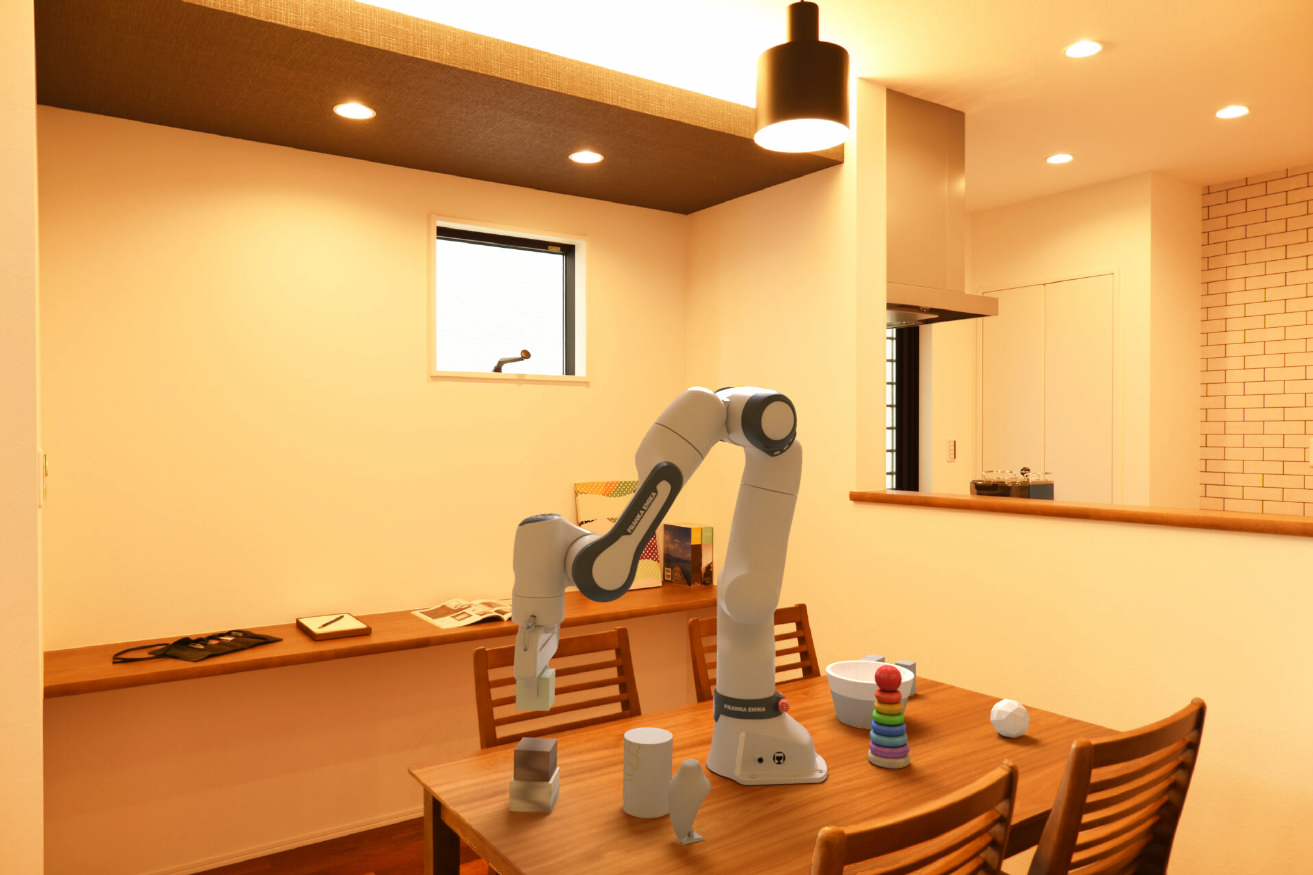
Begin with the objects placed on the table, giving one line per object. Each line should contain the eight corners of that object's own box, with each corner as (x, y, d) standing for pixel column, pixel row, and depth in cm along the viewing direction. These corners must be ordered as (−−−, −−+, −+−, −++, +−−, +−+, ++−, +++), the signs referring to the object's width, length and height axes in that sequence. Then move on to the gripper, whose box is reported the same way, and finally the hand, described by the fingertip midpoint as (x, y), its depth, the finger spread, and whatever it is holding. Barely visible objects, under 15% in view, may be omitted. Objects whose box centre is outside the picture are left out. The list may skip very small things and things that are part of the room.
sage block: (554, 700, 147) (555, 668, 147) (548, 710, 142) (549, 677, 142) (522, 699, 148) (523, 667, 148) (515, 709, 142) (516, 676, 142)
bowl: (845, 700, 205) (846, 655, 205) (925, 717, 194) (926, 669, 194) (810, 721, 189) (811, 672, 189) (895, 740, 178) (895, 688, 178)
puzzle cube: (849, 695, 210) (850, 662, 210) (870, 684, 220) (870, 653, 220) (896, 705, 203) (897, 671, 203) (915, 694, 212) (916, 661, 212)
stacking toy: (876, 751, 171) (877, 657, 171) (916, 760, 167) (917, 664, 167) (861, 763, 165) (862, 665, 165) (902, 773, 160) (903, 672, 160)
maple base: (559, 796, 148) (559, 767, 148) (551, 813, 141) (551, 783, 141) (519, 794, 148) (519, 765, 148) (509, 811, 141) (509, 781, 141)
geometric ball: (1007, 745, 184) (1016, 710, 188) (1033, 743, 177) (1041, 707, 181) (978, 728, 183) (987, 694, 187) (1003, 726, 176) (1012, 690, 180)
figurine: (659, 834, 133) (660, 757, 134) (686, 825, 137) (687, 750, 137) (689, 853, 127) (690, 772, 127) (716, 844, 131) (717, 765, 131)
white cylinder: (621, 797, 147) (622, 727, 147) (668, 796, 148) (670, 726, 148) (624, 818, 139) (625, 744, 139) (673, 817, 140) (675, 743, 140)
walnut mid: (556, 768, 147) (557, 738, 147) (549, 781, 141) (549, 751, 141) (522, 766, 148) (523, 737, 148) (513, 779, 142) (514, 749, 142)
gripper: (545, 624, 134) (542, 712, 134) (566, 600, 155) (564, 676, 154) (505, 622, 134) (503, 710, 134) (531, 598, 155) (529, 675, 155)
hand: (536, 692), depth 145 cm, fingers closed on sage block, 5 cm apart
